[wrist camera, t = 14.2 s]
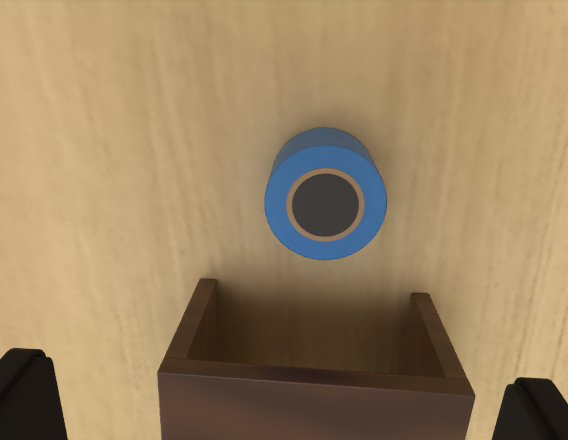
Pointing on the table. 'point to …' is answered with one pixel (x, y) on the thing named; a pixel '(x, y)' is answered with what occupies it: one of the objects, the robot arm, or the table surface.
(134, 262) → the table surface
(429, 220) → the table surface
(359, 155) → the tape roll
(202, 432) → the desk shelf
